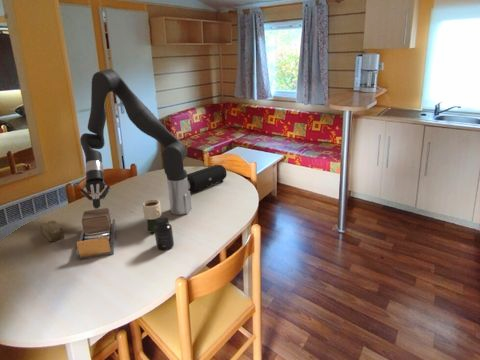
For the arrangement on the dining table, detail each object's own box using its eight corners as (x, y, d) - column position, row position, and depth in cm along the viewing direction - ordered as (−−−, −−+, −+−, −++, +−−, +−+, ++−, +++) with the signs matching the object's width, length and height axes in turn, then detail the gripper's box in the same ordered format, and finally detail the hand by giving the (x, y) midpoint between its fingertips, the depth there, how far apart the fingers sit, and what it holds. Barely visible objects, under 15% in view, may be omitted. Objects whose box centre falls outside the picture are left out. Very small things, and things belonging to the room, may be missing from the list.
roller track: (84, 229, 151) (81, 215, 148) (116, 224, 154) (113, 210, 152) (77, 260, 130) (73, 244, 127) (113, 254, 133) (110, 238, 130)
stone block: (51, 243, 142) (48, 233, 140) (41, 234, 149) (38, 223, 147) (65, 238, 145) (63, 227, 143) (55, 228, 153) (53, 218, 151)
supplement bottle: (157, 242, 140) (154, 216, 136) (174, 240, 141) (171, 214, 136) (155, 251, 134) (151, 224, 129) (173, 250, 134) (170, 223, 130)
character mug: (169, 230, 148) (165, 203, 143) (155, 237, 144) (151, 209, 139) (154, 222, 155) (151, 196, 150) (140, 228, 151) (136, 202, 146)
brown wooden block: (86, 224, 148) (83, 210, 146) (111, 220, 151) (108, 207, 148) (84, 233, 141) (81, 219, 139) (110, 229, 144) (107, 215, 141)
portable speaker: (192, 195, 182) (190, 178, 178) (181, 190, 188) (179, 173, 185) (227, 181, 198) (227, 165, 194) (216, 177, 205) (215, 161, 201)
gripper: (77, 170, 153) (78, 207, 147) (108, 167, 156) (111, 203, 150) (80, 177, 159) (82, 212, 153) (110, 174, 163) (113, 208, 157)
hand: (96, 207), depth 152 cm, fingers closed
